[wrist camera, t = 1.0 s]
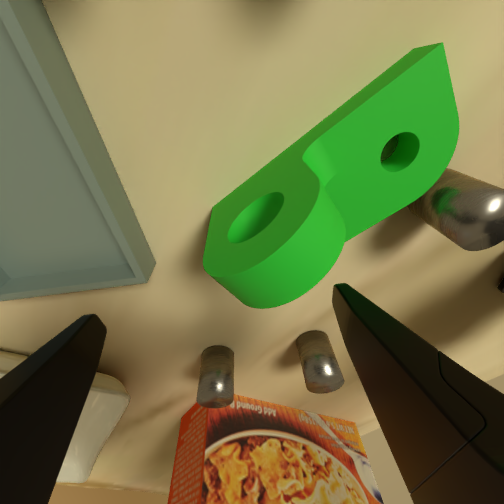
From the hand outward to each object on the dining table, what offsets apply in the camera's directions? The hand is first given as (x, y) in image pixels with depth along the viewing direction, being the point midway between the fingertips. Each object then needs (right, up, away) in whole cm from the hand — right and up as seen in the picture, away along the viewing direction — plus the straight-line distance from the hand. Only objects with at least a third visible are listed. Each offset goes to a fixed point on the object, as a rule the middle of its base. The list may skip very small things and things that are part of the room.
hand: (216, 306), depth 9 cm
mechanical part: (+6, +6, +5) cm, 10 cm away
